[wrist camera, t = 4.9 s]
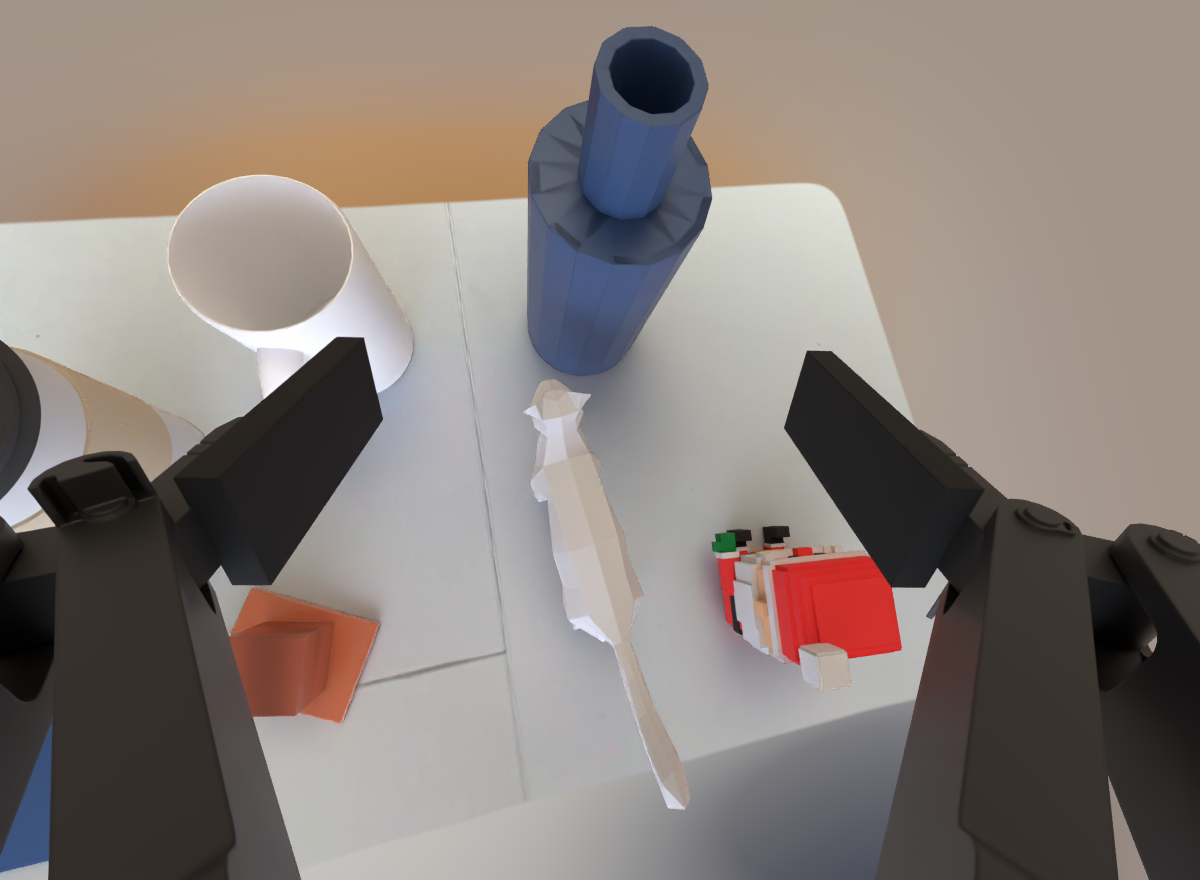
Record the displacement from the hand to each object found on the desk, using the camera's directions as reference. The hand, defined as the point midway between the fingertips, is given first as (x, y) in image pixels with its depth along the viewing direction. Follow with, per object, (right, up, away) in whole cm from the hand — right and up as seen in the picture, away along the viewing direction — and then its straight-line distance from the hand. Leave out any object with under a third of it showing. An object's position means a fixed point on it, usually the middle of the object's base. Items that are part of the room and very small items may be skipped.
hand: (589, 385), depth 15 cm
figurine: (+12, -12, +21) cm, 27 cm away
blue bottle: (-1, +7, +22) cm, 23 cm away
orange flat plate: (-18, -15, +15) cm, 28 cm away
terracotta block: (-18, -15, +15) cm, 28 cm away
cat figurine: (-1, -10, +19) cm, 21 cm away
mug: (-17, +3, +19) cm, 25 cm away
